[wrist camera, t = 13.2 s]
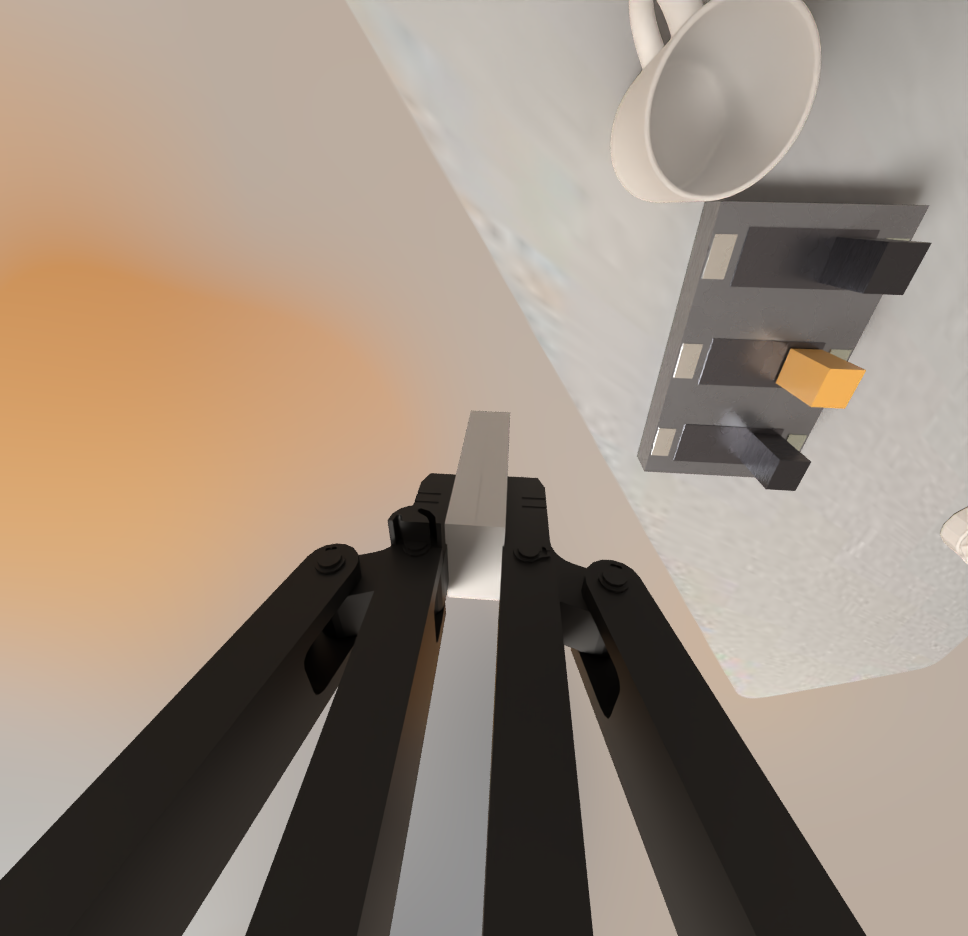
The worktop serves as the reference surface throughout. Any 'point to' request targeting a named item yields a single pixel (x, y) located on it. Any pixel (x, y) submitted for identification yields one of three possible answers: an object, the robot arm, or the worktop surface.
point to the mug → (714, 96)
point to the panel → (768, 328)
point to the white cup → (957, 533)
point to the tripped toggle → (819, 378)
